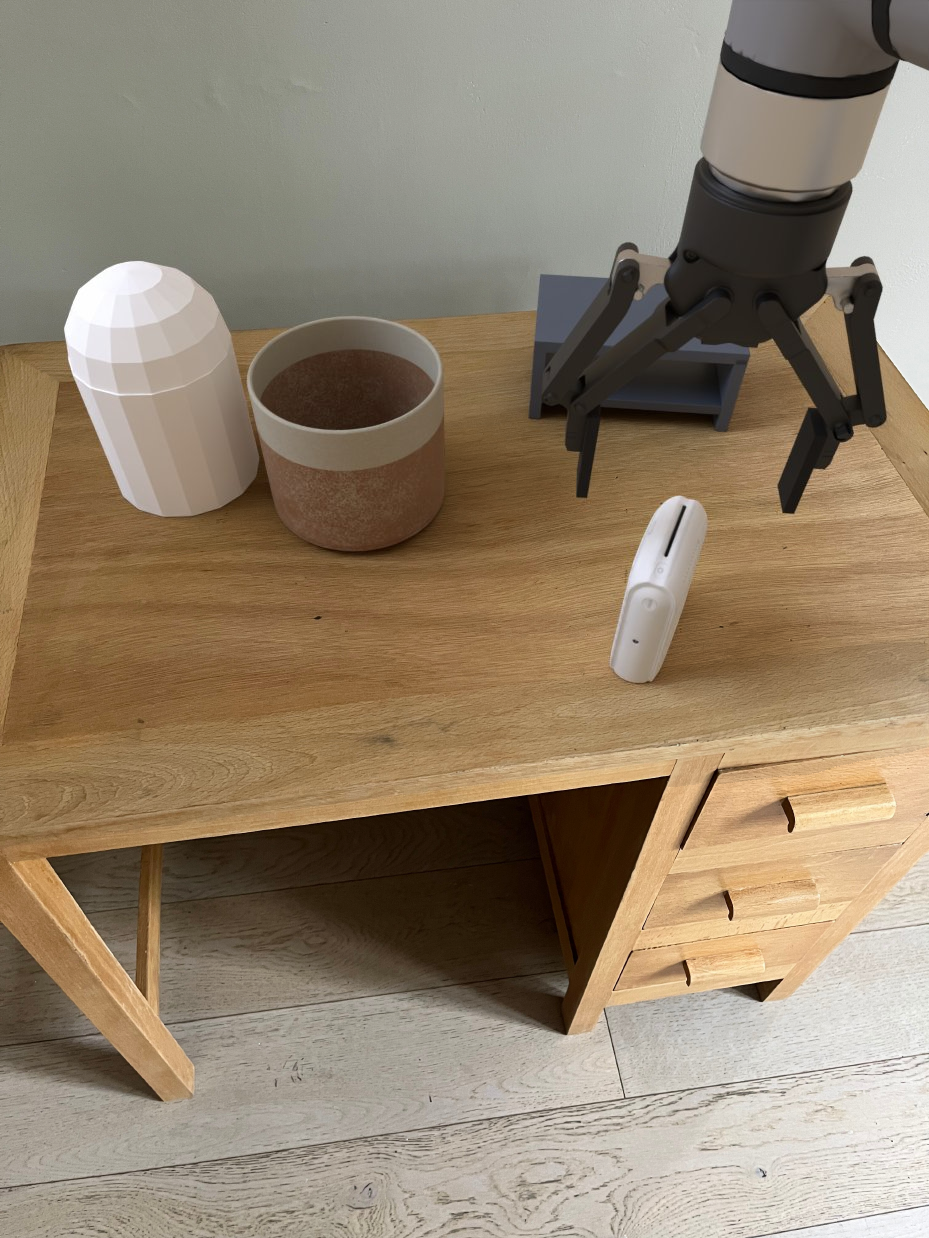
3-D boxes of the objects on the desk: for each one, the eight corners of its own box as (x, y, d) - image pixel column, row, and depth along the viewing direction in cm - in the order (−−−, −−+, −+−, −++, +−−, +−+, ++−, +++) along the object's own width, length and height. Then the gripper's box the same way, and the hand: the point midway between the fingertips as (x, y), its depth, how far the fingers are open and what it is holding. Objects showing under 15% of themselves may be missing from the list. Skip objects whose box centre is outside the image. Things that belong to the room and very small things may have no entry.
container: (118, 434, 85) (43, 239, 70) (254, 415, 87) (210, 221, 72) (116, 527, 77) (30, 330, 62) (266, 504, 79) (219, 308, 64)
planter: (266, 454, 84) (237, 329, 73) (424, 429, 86) (419, 304, 75) (286, 571, 74) (257, 447, 63) (463, 539, 77) (464, 414, 66)
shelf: (717, 361, 94) (737, 285, 87) (726, 431, 86) (750, 354, 79) (534, 350, 95) (540, 273, 88) (528, 418, 87) (534, 340, 80)
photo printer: (654, 693, 66) (688, 588, 57) (601, 674, 67) (625, 569, 58) (686, 599, 72) (722, 491, 63) (637, 584, 73) (664, 475, 64)
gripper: (1020, 145, 43) (861, 468, 59) (521, 119, 44) (502, 441, 61) (1071, 219, 38) (883, 547, 55) (511, 187, 39) (494, 516, 56)
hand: (682, 492), depth 58 cm, fingers open, 13 cm apart
